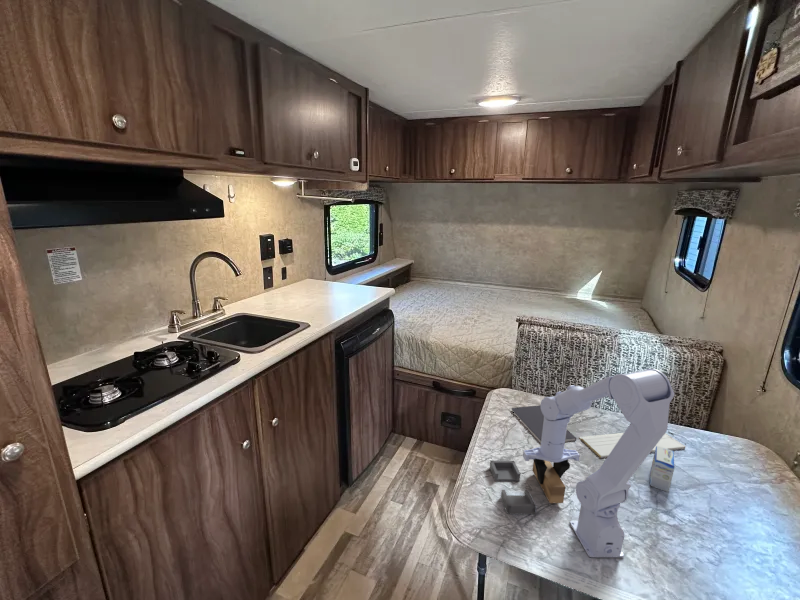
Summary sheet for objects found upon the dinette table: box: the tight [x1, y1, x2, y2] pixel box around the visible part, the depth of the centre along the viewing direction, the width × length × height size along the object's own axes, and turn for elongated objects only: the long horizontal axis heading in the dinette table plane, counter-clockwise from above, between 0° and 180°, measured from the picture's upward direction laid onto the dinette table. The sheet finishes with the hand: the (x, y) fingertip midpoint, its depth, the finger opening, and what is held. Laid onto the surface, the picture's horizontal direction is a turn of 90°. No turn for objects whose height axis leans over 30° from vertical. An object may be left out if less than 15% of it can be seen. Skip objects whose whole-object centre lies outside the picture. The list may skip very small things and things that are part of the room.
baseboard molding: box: [578, 431, 687, 459], centre depth 121 cm, size 31×3×12 cm
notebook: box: [511, 404, 577, 444], centre depth 130 cm, size 13×2×21 cm
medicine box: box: [649, 446, 676, 493], centre depth 102 cm, size 8×4×9 cm, turn 145°
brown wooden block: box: [532, 460, 566, 504], centre depth 99 cm, size 12×4×5 cm, turn 1°
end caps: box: [489, 460, 537, 515], centre depth 99 cm, size 17×7×2 cm, turn 1°
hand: (547, 481), depth 99 cm, fingers closed on brown wooden block, 3 cm apart
